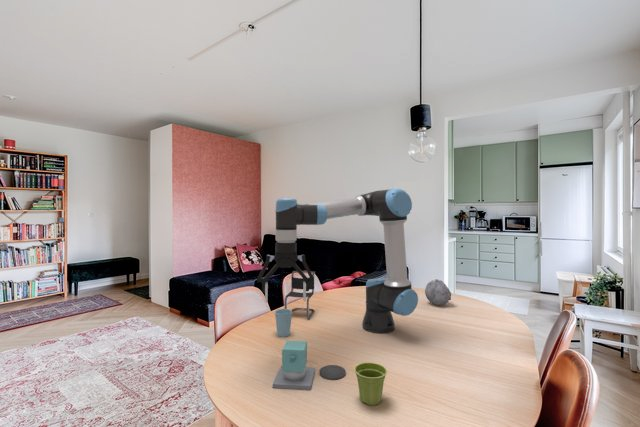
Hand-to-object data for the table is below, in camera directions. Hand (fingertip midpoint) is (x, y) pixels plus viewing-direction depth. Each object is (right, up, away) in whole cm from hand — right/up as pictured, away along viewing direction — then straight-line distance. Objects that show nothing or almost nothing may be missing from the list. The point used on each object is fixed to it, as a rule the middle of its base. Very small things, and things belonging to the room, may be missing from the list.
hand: (285, 300), depth 113 cm
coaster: (+17, -23, -6) cm, 29 cm away
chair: (+2, -23, +56) cm, 61 cm away
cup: (-4, -23, +28) cm, 37 cm away
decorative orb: (+82, -23, +74) cm, 113 cm away
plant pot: (+27, -23, -21) cm, 41 cm away
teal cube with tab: (+4, -19, -10) cm, 22 cm away
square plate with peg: (+4, -23, -10) cm, 25 cm away
